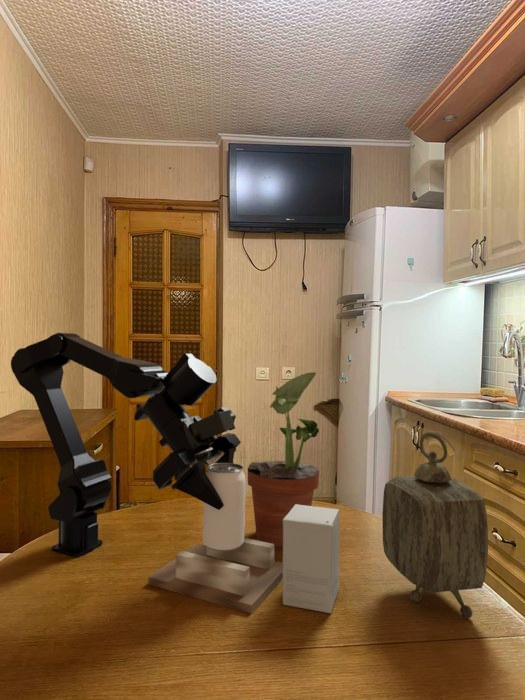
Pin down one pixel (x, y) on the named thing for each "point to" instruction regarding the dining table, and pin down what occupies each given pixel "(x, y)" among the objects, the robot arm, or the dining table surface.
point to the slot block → (223, 574)
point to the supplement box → (311, 557)
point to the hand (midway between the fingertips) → (231, 501)
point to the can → (225, 508)
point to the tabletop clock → (436, 529)
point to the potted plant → (283, 470)
